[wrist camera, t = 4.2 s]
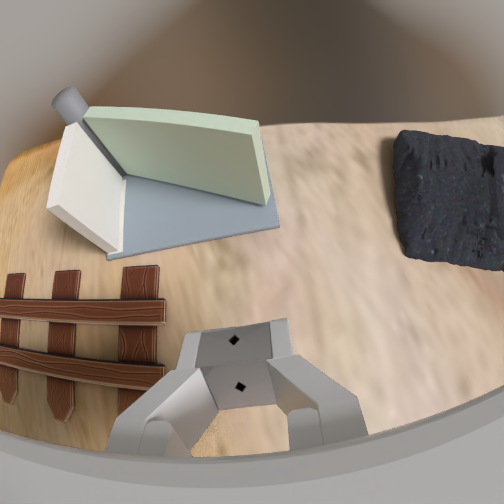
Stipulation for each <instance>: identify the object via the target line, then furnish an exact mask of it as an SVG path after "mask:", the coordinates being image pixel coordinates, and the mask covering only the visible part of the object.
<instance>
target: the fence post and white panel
mask: <svg viewBox="0 0 504 504" xmlns="http://www.w3.org/2000/svg"><path fill="white" fill-rule="evenodd" d="M52 106H53V108H54V109H55V110H56V111H57V113H58V114H59V115H60V116H61V117H62V119H63V120H64V121H65V122H66V123H67V125H68V126H67V127H65V131H64V134H63V138H62V141H61V145H60V148H59V152H58V156H57V160H56V164H55V168H54V173H53V177H52V182H51V186H50V191H49V196H48V202H47V207H46V209H47V210H49V211H50V212H51V213H53V214H54V215H55V216H57V217H58V218H59V219H61V220H62V221H63V222H65V223H66V224H67V225H69V226H70V227H72V228H73V229H74V230H76V231H77V232H78V233H80V234H81V235H83V236H84V237H85V238H87V239H88V240H90V241H91V242H93V243H94V244H95V245H97V246H98V247H100V248H101V249H103V250H104V251H106V252H107V253H109V252H114V251H118V247H119V219H120V202H121V188H122V178H123V177H124V176H125V175H126V174H127V173H126V172H125V171H124V169H123V168H122V167H121V166H120V164H119V163H118V162H117V161H116V159H115V158H114V157H113V156H112V154H111V153H110V152H109V151H108V149H107V148H106V147H105V146H104V144H103V143H102V142H101V140H100V139H99V138H98V137H97V135H96V134H95V133H94V131H93V130H92V129H91V128H90V126H89V125H88V124H87V122H86V121H85V120H84V119H83V116H84V114H85V113H86V112H87V110H88V109H89V107H88V105H87V104H86V103H85V101H84V100H83V98H82V97H81V96H80V94H79V93H78V91H77V90H76V88H75V87H74V86H69V87H67V88H65V89H64V90H62V91H61V92H59V94H57V96H56V97H55V98H54V99H53V101H52Z"/></svg>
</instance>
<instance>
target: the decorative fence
mask: <svg viewBox="0 0 504 504" xmlns="http://www.w3.org/2000/svg"><path fill="white" fill-rule="evenodd" d="M159 271H160V267H159V266H158V265H147V266H132V267H124V269H123V280H122V292H121V299H92V300H78V297H79V288H80V279H81V271H80V270H67V271H56V272H55V276H54V283H53V291H52V299H23V293H24V286H25V279H26V274H25V273H16V274H8V275H7V280H6V287H5V294H4V298H0V317H1V318H2V320H1V332H0V391H1V394H2V396H3V399H4V401H5V402H6V403H9V404H13V403H14V401H15V398H16V396H17V393H18V369H22V370H26V371H30V372H35V373H39V374H44V375H47V401H48V404H49V406H50V408H51V410H52V413H53V415H54V417H55V419H56V420H59V421H63V422H68V420H69V418H70V416H71V414H72V412H73V410H74V408H75V387H74V381H80V382H86V383H92V384H99V385H106V386H113V387H118V402H119V415H120V414H121V413H123V412H124V411H125V410H126V409H127V408H128V407H130V406H131V405H132V404H133V403H134V402H135V401H137V400H138V399H139V398H140V397H141V396H142V395H143V394H145V393H146V392H147V391H148V390H149V389H150V388H151V387H152V386H154V385H155V384H156V383H157V382H158V381H159V380H160V379H162V378H163V377H164V376H165V375H166V367H165V365H163V364H156V348H157V326H165V324H166V315H167V301H166V300H165V299H164V298H159V299H158V288H159ZM21 319H22V320H33V321H46V322H49V335H48V353H44V352H38V351H32V350H26V349H21V348H19V333H20V320H21ZM76 323H77V324H99V325H119V349H118V361H107V360H97V359H88V358H80V357H75V337H76Z"/></svg>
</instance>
